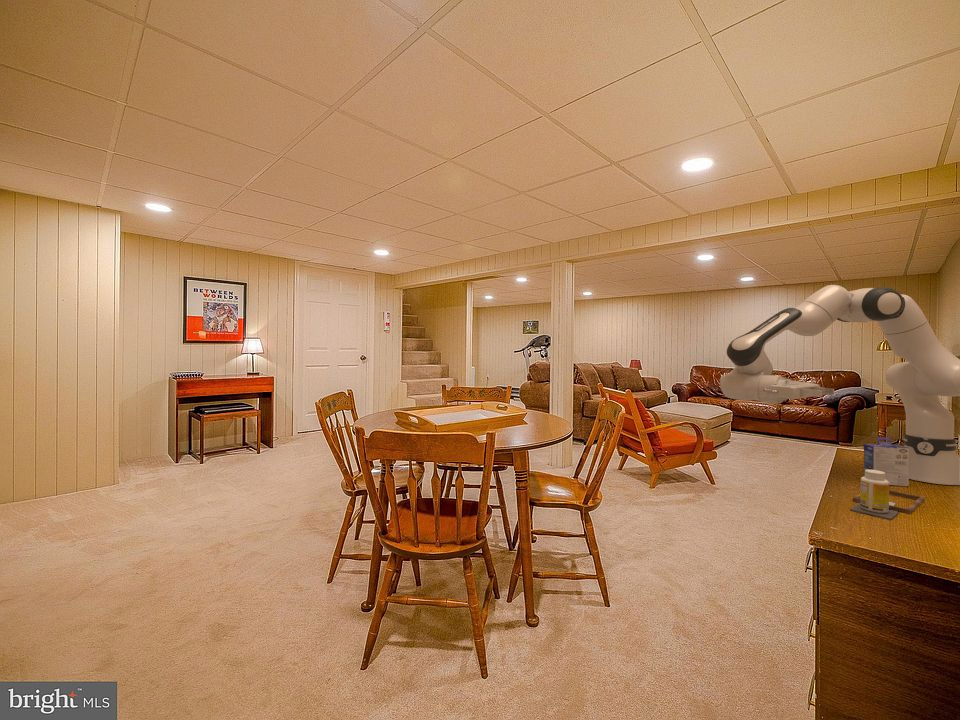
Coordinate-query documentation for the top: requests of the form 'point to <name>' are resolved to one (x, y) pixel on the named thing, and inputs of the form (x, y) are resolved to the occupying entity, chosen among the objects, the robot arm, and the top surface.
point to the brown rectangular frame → (904, 510)
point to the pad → (888, 515)
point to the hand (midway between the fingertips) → (828, 392)
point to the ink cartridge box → (888, 461)
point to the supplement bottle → (874, 492)
